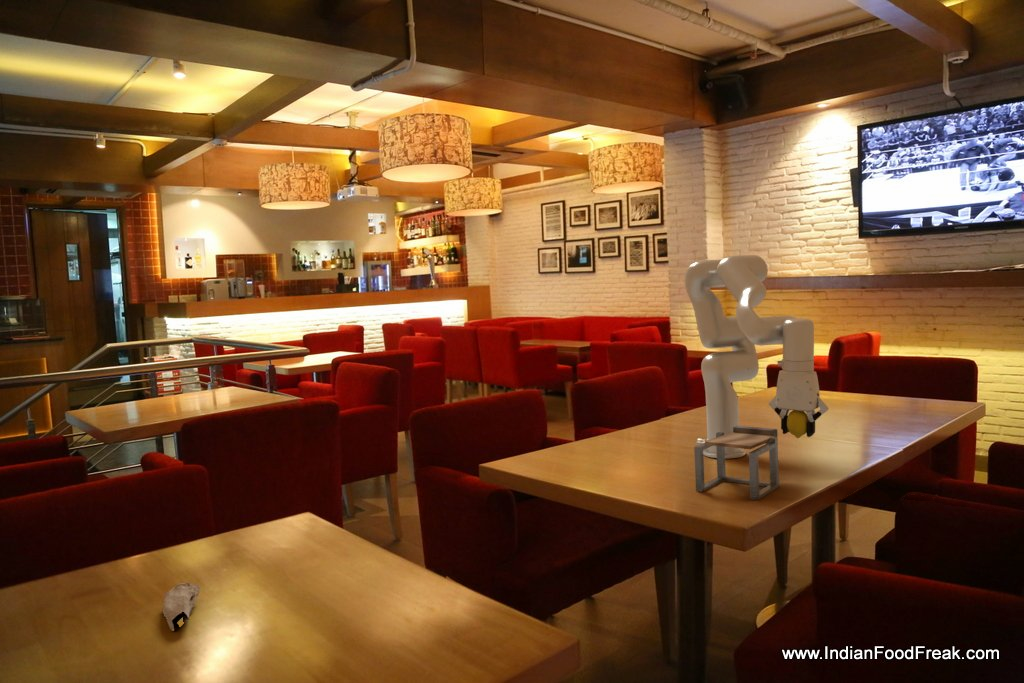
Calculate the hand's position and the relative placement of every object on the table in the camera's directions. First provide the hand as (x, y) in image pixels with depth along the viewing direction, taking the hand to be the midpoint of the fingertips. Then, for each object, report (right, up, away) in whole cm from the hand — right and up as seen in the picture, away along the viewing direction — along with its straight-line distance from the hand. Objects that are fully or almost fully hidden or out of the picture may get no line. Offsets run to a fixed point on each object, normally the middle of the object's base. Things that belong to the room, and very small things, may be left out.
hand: (797, 433), depth 190 cm
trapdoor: (-15, -3, -2) cm, 16 cm away
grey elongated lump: (-133, -25, -62) cm, 149 cm away
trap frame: (-17, -14, -4) cm, 22 cm away
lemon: (0, -1, 0) cm, 1 cm away
